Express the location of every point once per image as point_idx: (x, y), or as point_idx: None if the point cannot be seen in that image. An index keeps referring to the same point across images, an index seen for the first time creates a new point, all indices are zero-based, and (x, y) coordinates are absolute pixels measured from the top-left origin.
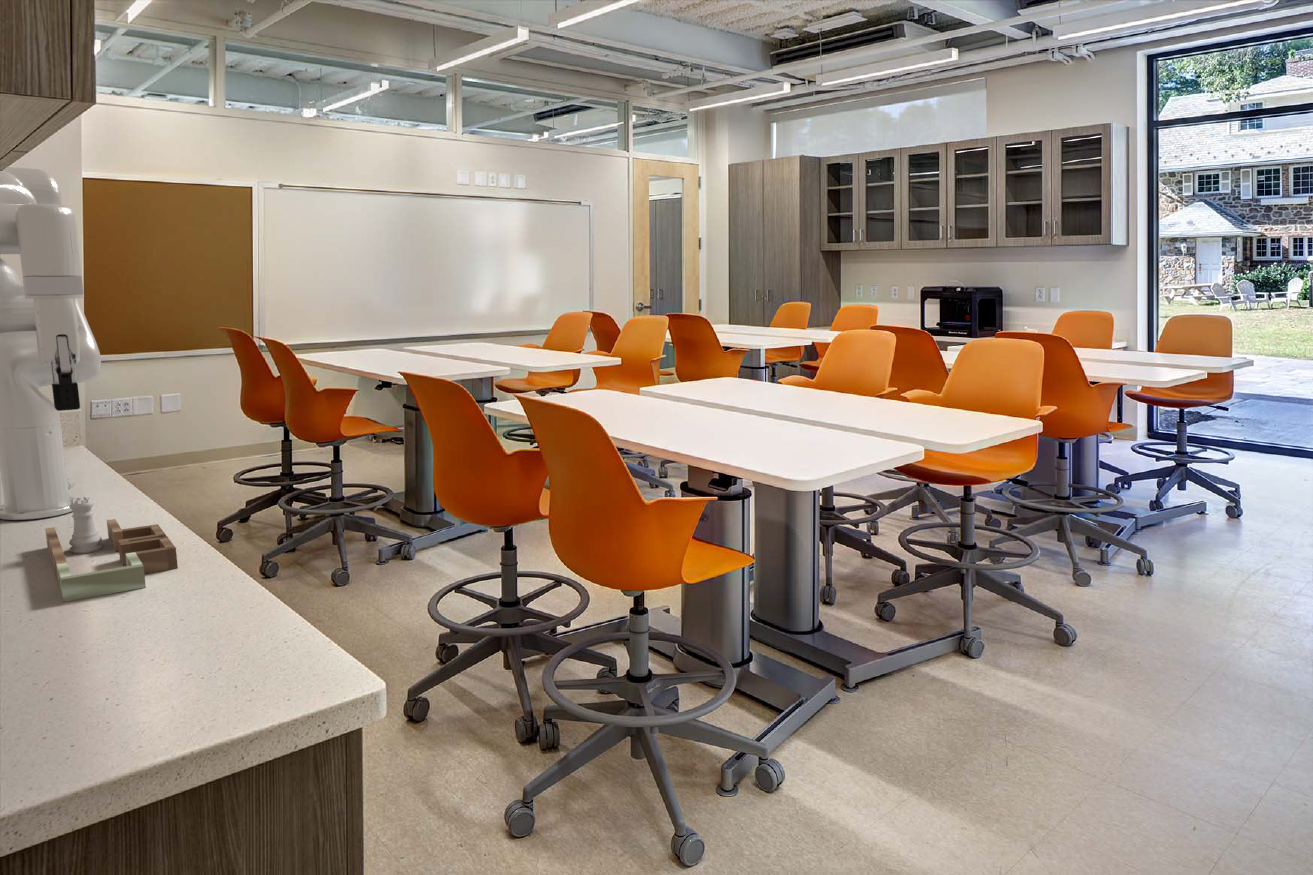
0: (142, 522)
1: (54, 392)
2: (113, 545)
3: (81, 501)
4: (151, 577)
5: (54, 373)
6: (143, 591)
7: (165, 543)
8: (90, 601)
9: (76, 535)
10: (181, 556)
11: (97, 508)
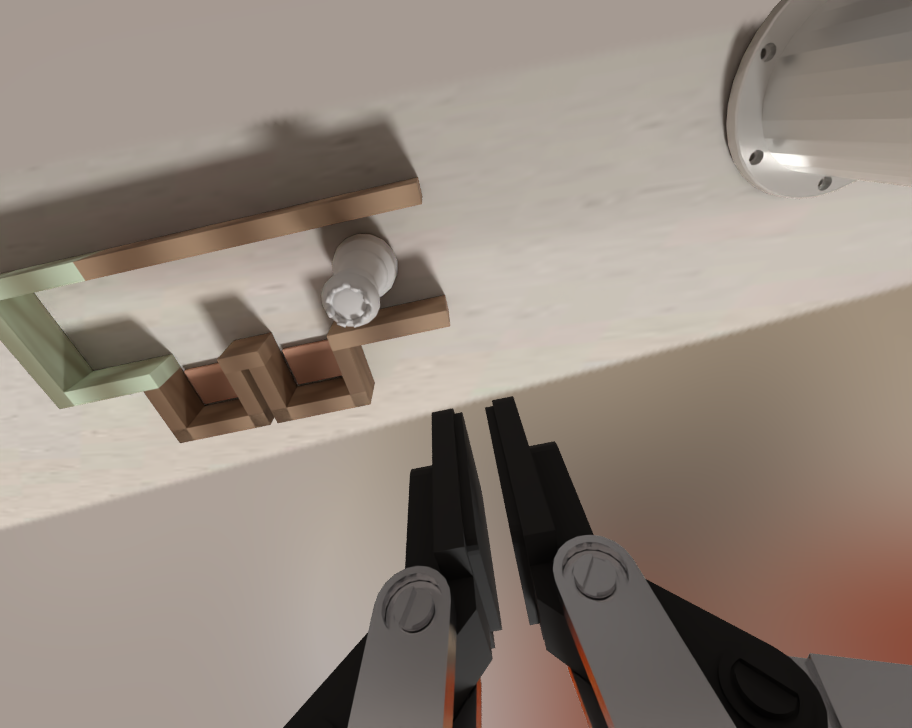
0: (551, 341)
1: (434, 499)
2: None
3: (326, 310)
4: None
5: (355, 711)
6: None
7: (215, 426)
8: None
9: (341, 262)
10: None
11: (750, 238)
